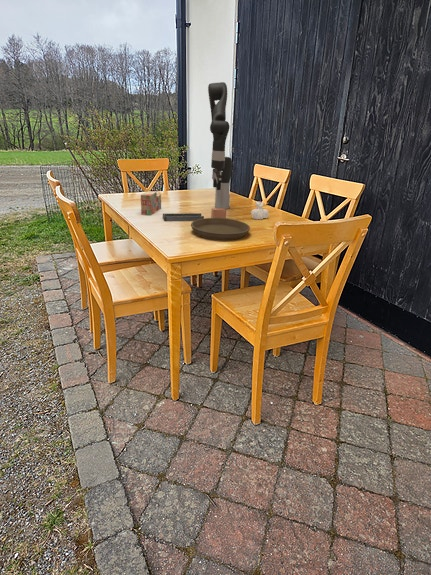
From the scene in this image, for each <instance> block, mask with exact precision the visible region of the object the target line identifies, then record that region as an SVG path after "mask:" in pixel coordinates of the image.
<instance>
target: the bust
mask: <svg viewBox="0 0 431 575" xmlns="http://www.w3.org/2000/svg"><path fill="white" fill-rule="evenodd" d="M254 205H255V208H254V209H252V210H251V211H250V214H251V217H252V219H254V220H258V219H259V220H264V219H263V218H266V219H268V217H269V214H270V213H269V209H267V208H263V206H264V205H265V203H264V202H262V201H260V200H259V201H256V202H255V203H254Z"/></svg>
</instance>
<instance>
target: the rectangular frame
mask: <svg viewBox="0 0 431 575" xmlns="http://www.w3.org/2000/svg"><path fill="white" fill-rule="evenodd" d="M204 218H205V216H204V215H202V213H200V212H198V213H196V212H195V213H194V212H193V213H187V212H185V213H183V212H182V213H179V212H178V213H173V212H172V213H162V220H163V221H164V222H193V221H195V220H198V219H204Z"/></svg>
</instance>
